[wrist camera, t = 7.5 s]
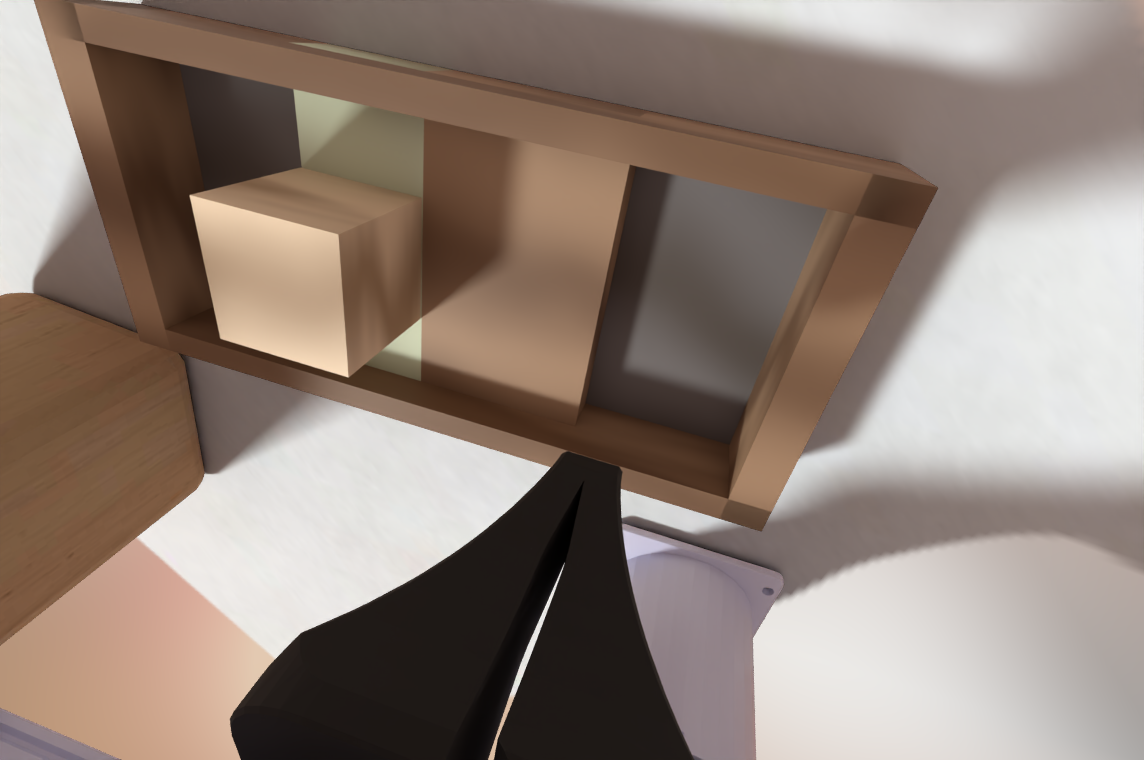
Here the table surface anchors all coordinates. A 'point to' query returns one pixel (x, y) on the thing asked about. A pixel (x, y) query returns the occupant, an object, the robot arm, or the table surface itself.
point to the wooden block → (82, 448)
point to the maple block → (311, 266)
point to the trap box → (508, 245)
